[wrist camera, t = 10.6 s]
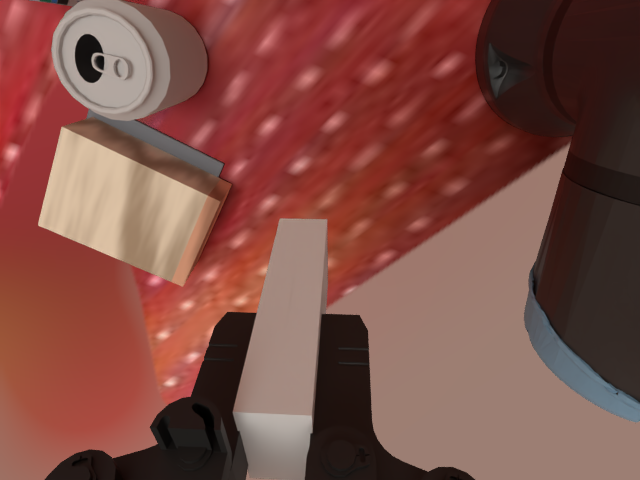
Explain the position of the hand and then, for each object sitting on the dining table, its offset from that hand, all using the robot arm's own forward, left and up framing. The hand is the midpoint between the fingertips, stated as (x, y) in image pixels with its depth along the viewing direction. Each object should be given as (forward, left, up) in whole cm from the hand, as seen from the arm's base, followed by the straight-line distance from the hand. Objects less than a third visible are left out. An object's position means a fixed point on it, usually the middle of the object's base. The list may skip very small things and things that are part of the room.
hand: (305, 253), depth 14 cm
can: (+14, +2, -28) cm, 31 cm away
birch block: (+5, +15, -25) cm, 29 cm away
